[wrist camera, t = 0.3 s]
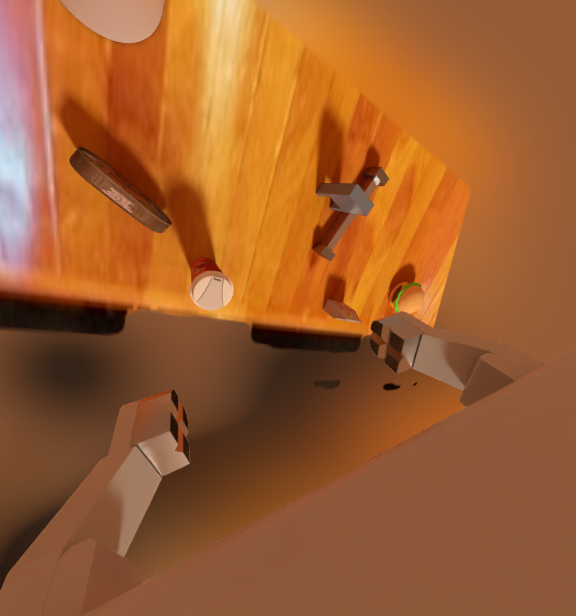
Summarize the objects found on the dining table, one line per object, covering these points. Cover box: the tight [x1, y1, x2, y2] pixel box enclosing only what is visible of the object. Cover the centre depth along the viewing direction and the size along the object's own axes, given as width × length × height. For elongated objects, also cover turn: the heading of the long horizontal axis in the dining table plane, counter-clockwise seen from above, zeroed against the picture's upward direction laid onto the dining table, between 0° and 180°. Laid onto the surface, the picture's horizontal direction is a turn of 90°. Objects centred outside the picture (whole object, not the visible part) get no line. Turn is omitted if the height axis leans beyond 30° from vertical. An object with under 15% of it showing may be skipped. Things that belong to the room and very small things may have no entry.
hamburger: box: [389, 282, 424, 313], centre depth 81 cm, size 12×12×9 cm
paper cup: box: [190, 258, 233, 310], centre depth 47 cm, size 8×8×14 cm
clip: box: [316, 183, 374, 216], centre depth 52 cm, size 6×3×13 cm, turn 52°
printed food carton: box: [323, 299, 361, 323], centre depth 70 cm, size 4×7×10 cm, turn 67°
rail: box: [313, 167, 389, 261], centre depth 59 cm, size 24×4×4 cm, turn 142°
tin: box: [70, 146, 172, 233], centre depth 38 cm, size 15×3×8 cm, turn 40°
